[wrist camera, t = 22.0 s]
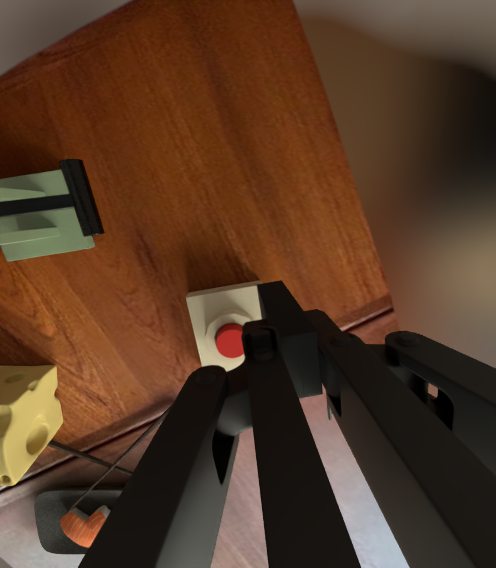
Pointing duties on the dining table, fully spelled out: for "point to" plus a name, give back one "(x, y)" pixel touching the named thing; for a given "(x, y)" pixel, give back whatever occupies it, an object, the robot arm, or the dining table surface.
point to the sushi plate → (78, 506)
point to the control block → (221, 317)
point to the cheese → (26, 417)
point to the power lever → (63, 200)
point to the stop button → (230, 341)
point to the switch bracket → (39, 220)
